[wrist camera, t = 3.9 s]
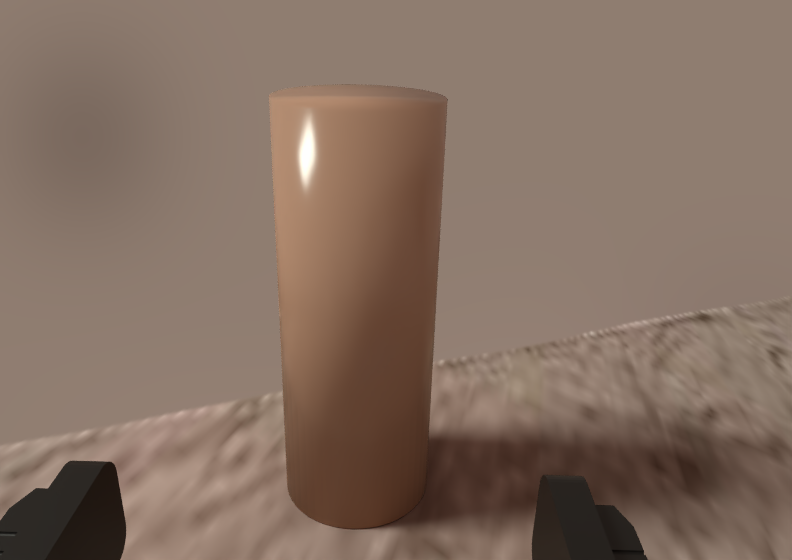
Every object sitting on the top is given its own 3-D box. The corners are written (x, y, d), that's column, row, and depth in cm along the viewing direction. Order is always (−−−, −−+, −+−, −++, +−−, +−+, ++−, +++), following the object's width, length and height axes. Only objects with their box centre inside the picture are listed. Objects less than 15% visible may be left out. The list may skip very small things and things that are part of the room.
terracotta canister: (424, 437, 28) (442, 87, 22) (428, 531, 23) (453, 114, 17) (297, 434, 28) (284, 82, 22) (275, 526, 23) (252, 108, 17)
